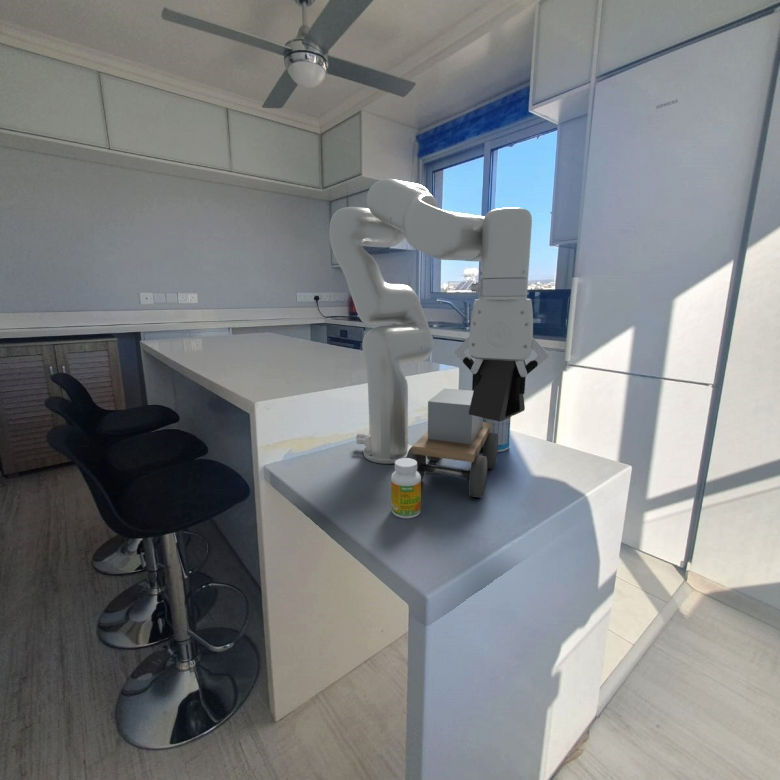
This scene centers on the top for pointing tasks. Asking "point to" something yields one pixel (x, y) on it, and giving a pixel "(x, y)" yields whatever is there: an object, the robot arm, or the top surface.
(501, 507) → the top surface
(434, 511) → the top surface
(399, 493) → the supplement bottle
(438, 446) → the trolley
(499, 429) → the beverage bottle
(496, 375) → the phone stand
